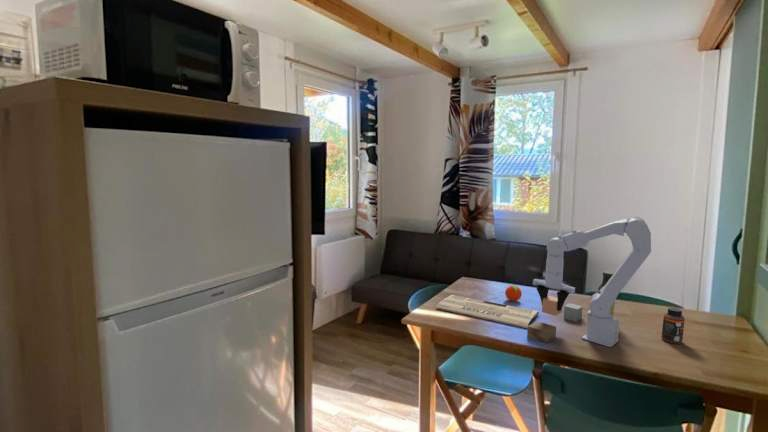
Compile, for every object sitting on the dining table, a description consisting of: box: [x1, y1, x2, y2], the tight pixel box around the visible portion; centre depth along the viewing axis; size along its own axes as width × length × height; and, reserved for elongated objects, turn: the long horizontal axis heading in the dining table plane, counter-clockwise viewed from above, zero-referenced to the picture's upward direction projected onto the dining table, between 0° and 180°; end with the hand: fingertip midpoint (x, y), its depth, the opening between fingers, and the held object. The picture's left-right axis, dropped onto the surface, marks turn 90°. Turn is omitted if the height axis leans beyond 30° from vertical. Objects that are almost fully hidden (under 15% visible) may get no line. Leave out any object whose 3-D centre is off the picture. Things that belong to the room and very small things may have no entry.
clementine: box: [504, 285, 523, 302], centre depth 183 cm, size 8×7×7 cm
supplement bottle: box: [661, 306, 686, 344], centre depth 143 cm, size 6×6×11 cm
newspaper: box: [436, 294, 540, 329], centre depth 169 cm, size 37×19×3 cm, turn 57°
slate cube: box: [563, 302, 583, 322], centre depth 164 cm, size 5×5×5 cm
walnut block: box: [526, 320, 557, 344], centre depth 145 cm, size 7×7×4 cm
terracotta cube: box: [541, 295, 563, 317], centre depth 151 cm, size 5×5×5 cm
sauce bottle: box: [597, 270, 616, 318], centre depth 158 cm, size 6×6×20 cm
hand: (551, 308), depth 150 cm, fingers closed on terracotta cube, 5 cm apart
